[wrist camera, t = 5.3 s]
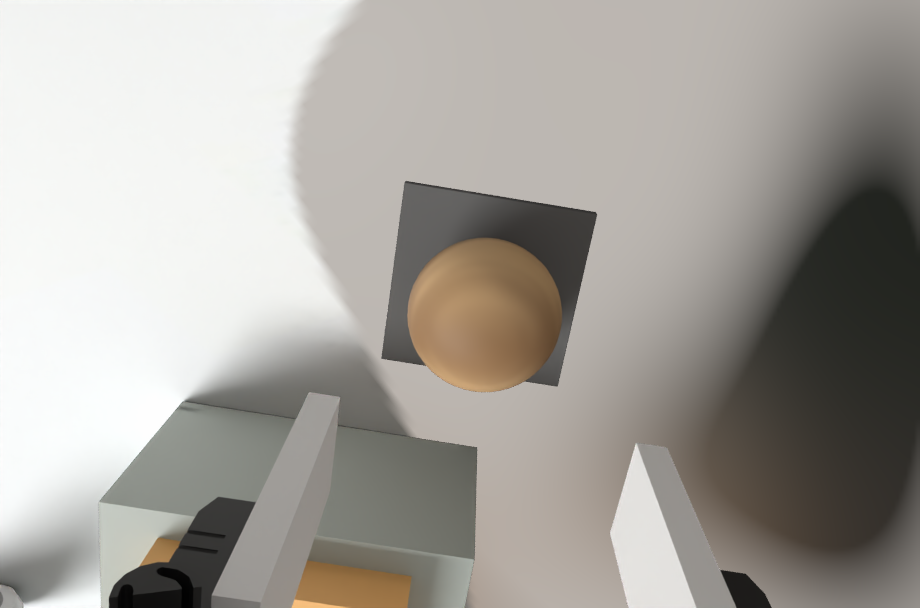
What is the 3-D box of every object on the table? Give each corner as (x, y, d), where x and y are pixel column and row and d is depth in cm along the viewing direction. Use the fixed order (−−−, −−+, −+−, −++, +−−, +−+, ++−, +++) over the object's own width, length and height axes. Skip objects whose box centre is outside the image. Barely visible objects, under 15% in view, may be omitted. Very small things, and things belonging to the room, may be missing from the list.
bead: (425, 210, 30) (410, 250, 24) (568, 233, 30) (586, 279, 24) (406, 341, 32) (389, 407, 26) (540, 363, 32) (551, 432, 26)
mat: (405, 181, 30) (404, 182, 29) (595, 212, 30) (596, 214, 30) (382, 354, 33) (381, 358, 32) (556, 382, 33) (557, 386, 32)
